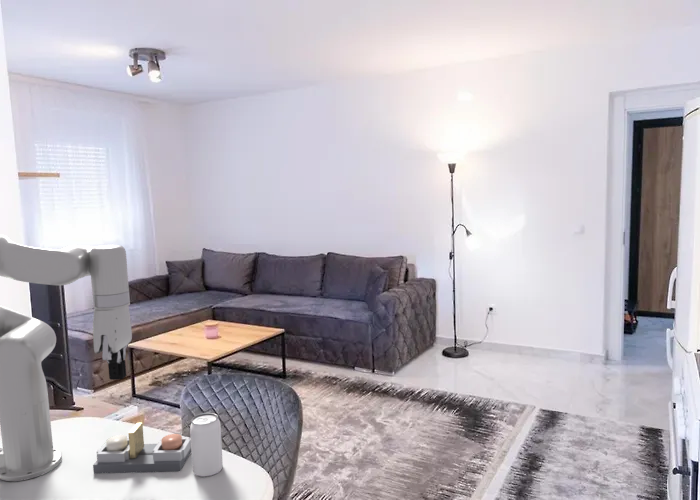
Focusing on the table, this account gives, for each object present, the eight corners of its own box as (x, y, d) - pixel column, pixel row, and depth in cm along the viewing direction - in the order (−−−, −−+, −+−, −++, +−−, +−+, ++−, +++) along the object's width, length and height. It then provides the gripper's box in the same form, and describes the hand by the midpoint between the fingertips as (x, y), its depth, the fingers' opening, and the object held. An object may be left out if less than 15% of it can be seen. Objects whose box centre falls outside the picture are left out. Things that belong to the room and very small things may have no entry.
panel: (93, 473, 116) (92, 456, 115) (111, 452, 125) (110, 436, 124) (182, 471, 116) (181, 454, 115) (194, 450, 125) (193, 434, 124)
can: (214, 479, 113) (211, 426, 111) (187, 476, 114) (183, 424, 112) (227, 463, 119) (225, 413, 117) (201, 461, 120) (198, 411, 119)
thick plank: (130, 458, 118) (128, 432, 117) (139, 447, 122) (137, 422, 122) (135, 458, 118) (133, 432, 117) (144, 446, 122) (142, 422, 122)
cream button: (103, 453, 118) (102, 444, 117) (111, 443, 122) (111, 435, 122) (122, 452, 118) (122, 444, 117) (130, 443, 122) (130, 434, 122)
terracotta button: (159, 451, 118) (158, 443, 117) (165, 442, 122) (165, 434, 122) (178, 451, 118) (178, 443, 117) (184, 441, 122) (184, 433, 122)
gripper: (109, 293, 126) (115, 367, 128) (78, 308, 111) (85, 391, 113) (141, 292, 126) (146, 366, 128) (113, 307, 111) (120, 390, 113)
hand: (118, 378), depth 121 cm, fingers closed
